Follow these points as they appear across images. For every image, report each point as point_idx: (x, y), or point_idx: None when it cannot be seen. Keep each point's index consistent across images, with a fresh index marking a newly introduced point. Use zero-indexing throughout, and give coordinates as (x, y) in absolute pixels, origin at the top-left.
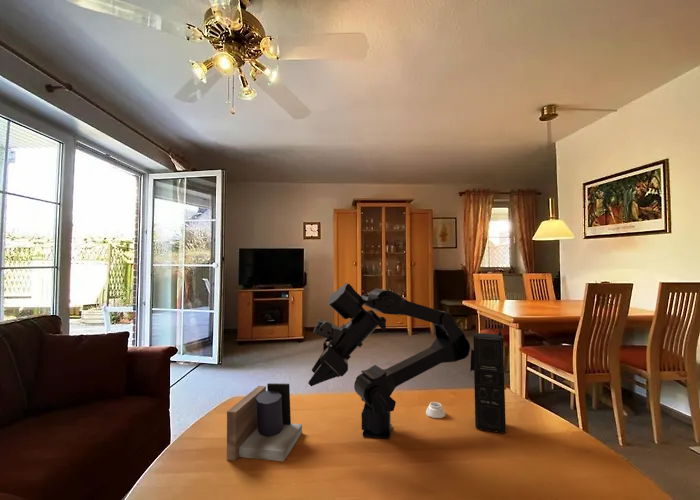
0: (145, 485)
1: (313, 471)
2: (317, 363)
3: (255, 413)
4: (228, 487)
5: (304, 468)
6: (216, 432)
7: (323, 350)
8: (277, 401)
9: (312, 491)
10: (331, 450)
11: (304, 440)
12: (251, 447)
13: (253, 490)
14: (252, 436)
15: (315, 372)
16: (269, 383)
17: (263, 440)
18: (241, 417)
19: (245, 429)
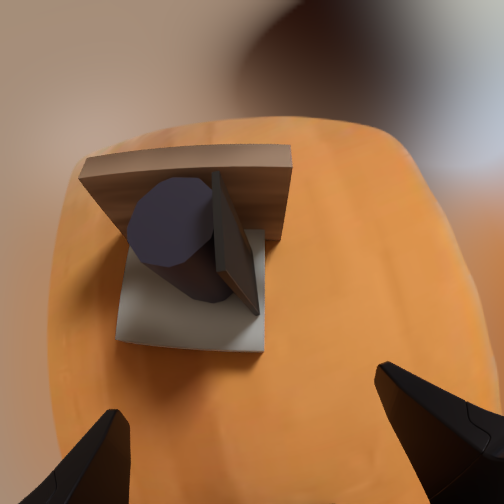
0: (88, 156)
1: (102, 412)
2: (413, 406)
3: None
4: (63, 265)
5: (108, 393)
6: None
7: (499, 459)
8: (147, 264)
9: (57, 411)
10: (184, 448)
11: (222, 371)
12: (130, 256)
13: (54, 309)
14: None
15: (60, 467)
16: (219, 177)
17: None
18: (116, 192)
19: None
